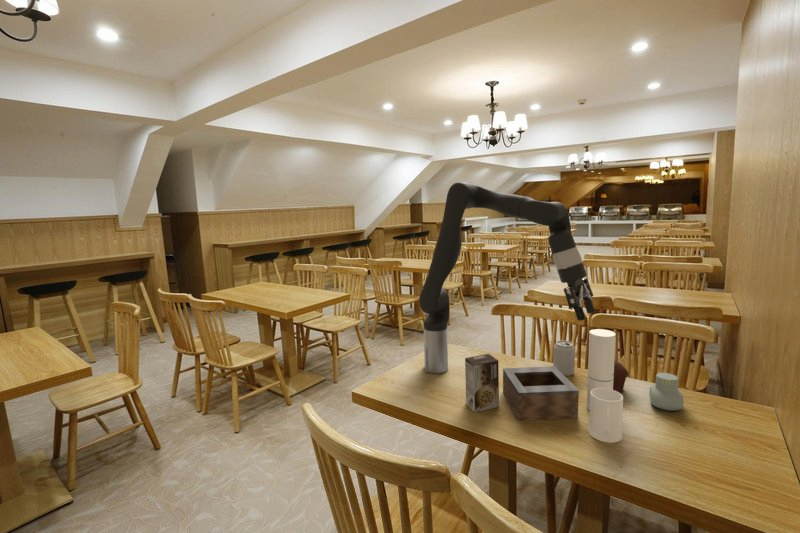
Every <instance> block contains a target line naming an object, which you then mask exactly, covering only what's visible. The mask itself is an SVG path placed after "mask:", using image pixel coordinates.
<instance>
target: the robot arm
mask: <svg viewBox="0 0 800 533" xmlns="http://www.w3.org/2000/svg"><path fill="white" fill-rule="evenodd" d="M471 208H475V209H476V208H478V209H479V208H481V209H487V210H488V209H489V210H492V211H495V212H497V213H500V214H502V215H505V216H508V217H511V218H512V217H513V218H516V219H521V220H526V221H528V222H532V223H534V224H538V225H541V226H547V227H548V230H549V236H548V239H547V241H548V244H549V248H550V250H551V253H552V258H553V262H554V265H555V268H556V271H557V274H558V277H559V280H560V282H561V283H562V284H567V287H564V288H563V292H564V295H565V299H566V302H567V305H568V308H570V309H573V310H574V313H575V316H576V319H577V320H578V321H585V320H586V318H587V317H586V315H585V311H584V308H583V306H582V301H583V305H584V307H585V310H586V313H587V314H592V313H595V312H596V308H595V307H594V304H593V303H594V302H593V297H594V293H593V291H592V288H591V285H590V283H589V280H588V278H586V277H587V276H588V274H587V270H586V268H585V265H584V263H583V259H582V257H581V254H580V252H579V249H578V248H577V245H576V243H575V239H574V236H573V234H572V226H571V220H570V215H569V212H568V209H567V208H566V206H565V205H564V203H561V202H560V201H550V202H549V201H541V200H536V199H534V198H531V197H529V196H524V195H523V196H522V195H518V194H512V193H505V192H499V191H498V192H497V191H494V190H491V189H487V188H485V187H482V186H479V185H477V184H475V183H472V182H465V181H462V182H460V181H459V182H454V183H453V184H452V185H451V186H450V187H449V189H448V191H447V195H446V198H445V205H444V213H443V217H442V220H441V225H440V229H439V233H438V236H437V240H436V244H435V246H434V251H433V254H432V260H431V262H430V265H429V269H428V272H427V276H426V280H425V282H424V284H423V287H422V288H421V292H420V294H419V298H418V304H419V305H418V306H419V307H420V309H421V311H422V312H423V313H425V314H427V317H426V318H425V319H424V321H423V340H424V342H423V353H424V354H423V356H424V359H423V360H424V371H425V373H430V374H443V373H446V372H448V371H449V359H448V358H449V357H448V356H449V352H448V351H449V350H448V348H449V347H448V323H449V320H450V295H449V292H448V291H447V290H446V289H445V288H443V286H444V284H445V283H446V282H445V281H446V279H447V278H448V277H449V275H450V274H451V272H452V271H453V269H454V268H455V266H456V264H457V263H458V260H459V256H460V253H461V248H462V244H463V242H462V233H461V224H462V223H461V222H462V219H463V216H464V214H465V211H466V209H467V210H468V209H471Z"/></svg>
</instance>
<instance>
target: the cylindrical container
mask: <svg viewBox="0 0 800 533" xmlns="http://www.w3.org/2000/svg"><path fill="white" fill-rule="evenodd" d="M588 333H589V334H588V335H589V336H588V337H589V339H588V359H587V361H588V362H587V389H586V390H587V392H586V408H587V410H588V411H589V412H590V395H591V390H593V389H595V388H607V389H612V390H613V377H614V360H615V353H616V352H615V351H616V333H615V332H614V331H612V330H609V329H602V328H596V329H590V330H589V332H588Z"/></svg>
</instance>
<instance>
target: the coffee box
mask: <svg viewBox="0 0 800 533" xmlns="http://www.w3.org/2000/svg"><path fill="white" fill-rule="evenodd" d="M464 364H465V365H464V366H465V369H464V370H465V371H464V372H465V373H464V374H465V404H466V405H467V406H468V407H469V408H470V409H471V410H472V411H473V412H474V413H478V412H482V411H485V410H487V411H488V410H491V409H495V408H499V407H500V388H499V387H500V386H499V385H500V382H499V378H500V377H499V371H500V370H499V359H496V358H495V357H494V356H493V355H491V354H490V353H486V354H480V355H474V356H470V357H465V358H464Z"/></svg>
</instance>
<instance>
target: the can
mask: <svg viewBox="0 0 800 533" xmlns="http://www.w3.org/2000/svg"><path fill="white" fill-rule="evenodd" d="M552 362H553V364H552V366H555V367H556V368H557V369H558V370H559V371H560V372H561V373H562V374H563V375H564V376H565V377H569V376H572V375H573V374H575V362H576V347H575V346H574V343H573V342H571V341H567V340H558V341H556V342H555V344H554V345H553V361H552Z"/></svg>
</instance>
